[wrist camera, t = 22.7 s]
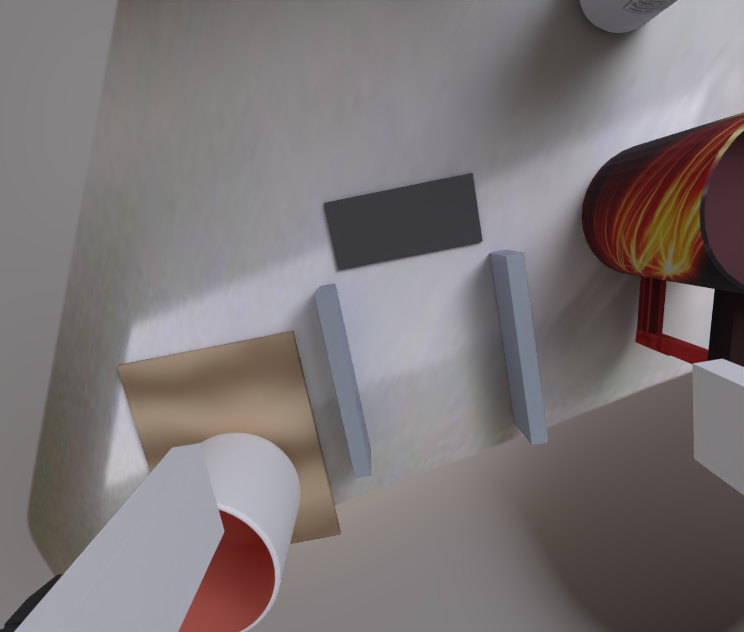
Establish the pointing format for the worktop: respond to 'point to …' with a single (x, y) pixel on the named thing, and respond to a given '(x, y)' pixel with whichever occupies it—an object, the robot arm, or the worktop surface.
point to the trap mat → (404, 221)
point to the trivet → (235, 411)
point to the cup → (245, 532)
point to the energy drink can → (622, 13)
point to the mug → (677, 229)
